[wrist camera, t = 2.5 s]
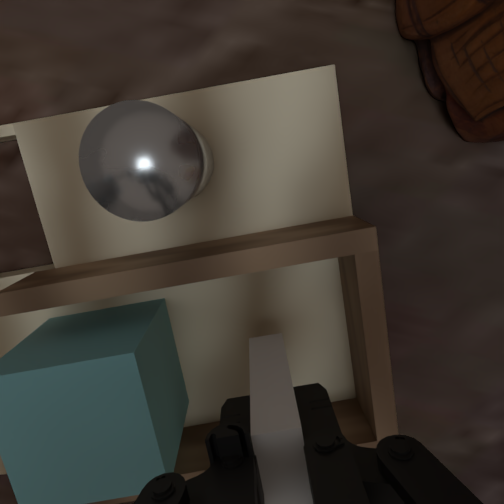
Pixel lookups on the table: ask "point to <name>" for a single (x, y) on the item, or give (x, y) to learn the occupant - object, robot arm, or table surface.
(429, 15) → the wooden figurine
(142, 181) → the grey knob
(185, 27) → the table surface
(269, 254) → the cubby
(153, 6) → the table surface
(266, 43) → the table surface
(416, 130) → the table surface
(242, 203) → the board
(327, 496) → the robot arm
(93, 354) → the block
